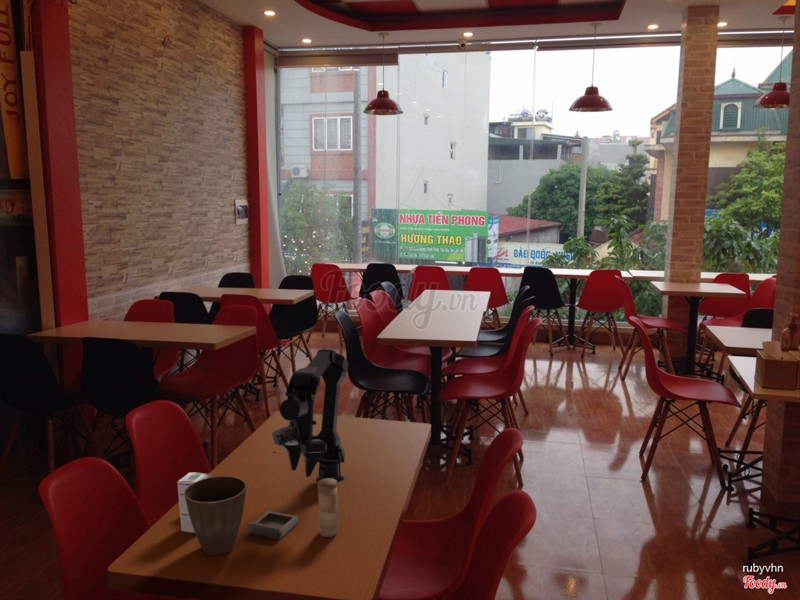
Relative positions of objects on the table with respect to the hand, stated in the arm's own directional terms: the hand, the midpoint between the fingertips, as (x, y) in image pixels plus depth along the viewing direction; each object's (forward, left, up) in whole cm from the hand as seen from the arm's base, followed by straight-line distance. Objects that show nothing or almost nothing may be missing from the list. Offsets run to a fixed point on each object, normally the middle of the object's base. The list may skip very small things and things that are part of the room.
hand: (300, 473), depth 174 cm
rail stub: (+2, +13, -12) cm, 18 cm away
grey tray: (+10, 0, -12) cm, 16 cm away
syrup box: (+23, -17, -12) cm, 31 cm away
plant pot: (+25, -3, -12) cm, 28 cm away
